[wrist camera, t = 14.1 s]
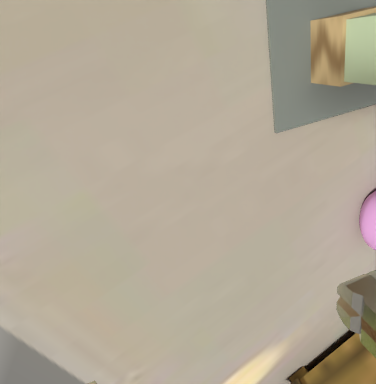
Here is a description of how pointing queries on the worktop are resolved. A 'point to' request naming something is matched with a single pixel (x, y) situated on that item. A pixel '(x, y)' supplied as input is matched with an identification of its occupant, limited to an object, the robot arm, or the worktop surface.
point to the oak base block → (331, 47)
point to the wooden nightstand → (341, 366)
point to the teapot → (369, 220)
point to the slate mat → (307, 65)
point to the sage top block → (360, 50)
